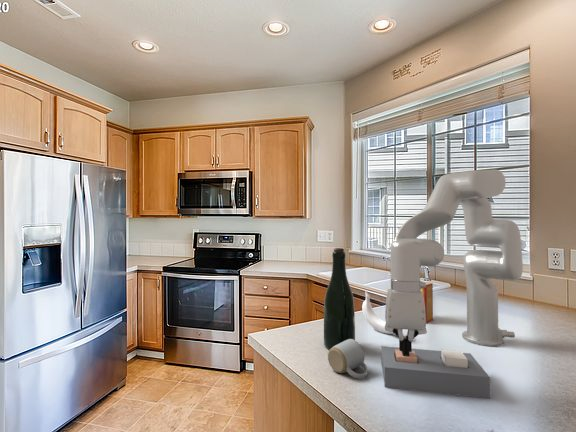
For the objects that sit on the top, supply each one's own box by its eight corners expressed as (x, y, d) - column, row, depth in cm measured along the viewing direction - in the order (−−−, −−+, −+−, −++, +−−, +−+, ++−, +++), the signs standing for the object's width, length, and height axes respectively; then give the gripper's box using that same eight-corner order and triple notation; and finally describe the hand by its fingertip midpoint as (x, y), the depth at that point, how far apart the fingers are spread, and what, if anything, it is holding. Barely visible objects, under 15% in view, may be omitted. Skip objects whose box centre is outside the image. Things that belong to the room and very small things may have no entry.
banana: (400, 341, 112) (400, 299, 112) (358, 327, 127) (358, 290, 127) (408, 338, 115) (408, 297, 115) (366, 324, 130) (366, 288, 130)
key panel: (470, 371, 90) (470, 353, 90) (490, 398, 76) (489, 377, 76) (381, 363, 95) (381, 346, 95) (384, 386, 81) (384, 367, 82)
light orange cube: (414, 368, 89) (414, 350, 89) (417, 376, 84) (417, 358, 84) (395, 366, 90) (395, 349, 90) (397, 374, 85) (397, 356, 85)
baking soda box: (404, 318, 138) (403, 281, 138) (411, 315, 143) (411, 279, 143) (426, 323, 131) (425, 284, 131) (432, 320, 136) (432, 282, 136)
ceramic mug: (325, 369, 91) (325, 342, 91) (344, 360, 97) (344, 335, 97) (355, 384, 83) (355, 354, 83) (374, 374, 89) (374, 346, 89)
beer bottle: (352, 354, 101) (352, 249, 101) (320, 350, 105) (319, 249, 105) (357, 342, 111) (356, 247, 111) (327, 339, 114) (327, 246, 115)
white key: (461, 369, 86) (461, 351, 86) (467, 378, 81) (467, 359, 81) (441, 367, 87) (441, 349, 87) (446, 376, 82) (446, 357, 83)
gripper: (431, 284, 89) (432, 351, 89) (376, 282, 93) (376, 346, 92) (438, 290, 82) (438, 362, 82) (377, 287, 85) (377, 357, 85)
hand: (405, 353), depth 87 cm, fingers closed
